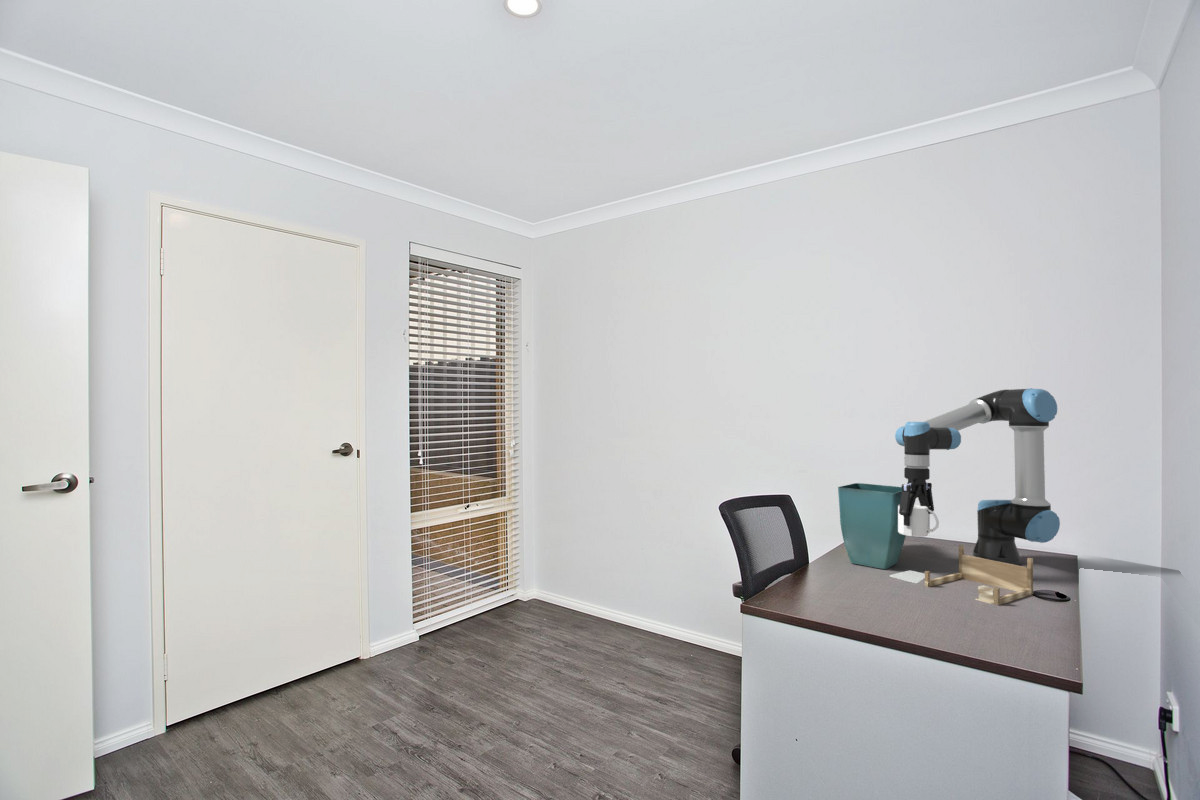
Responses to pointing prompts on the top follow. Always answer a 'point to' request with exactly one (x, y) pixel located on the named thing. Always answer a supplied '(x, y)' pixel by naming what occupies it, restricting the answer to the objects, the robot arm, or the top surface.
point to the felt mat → (909, 576)
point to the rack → (991, 576)
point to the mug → (918, 521)
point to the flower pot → (871, 524)
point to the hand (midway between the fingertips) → (916, 534)
